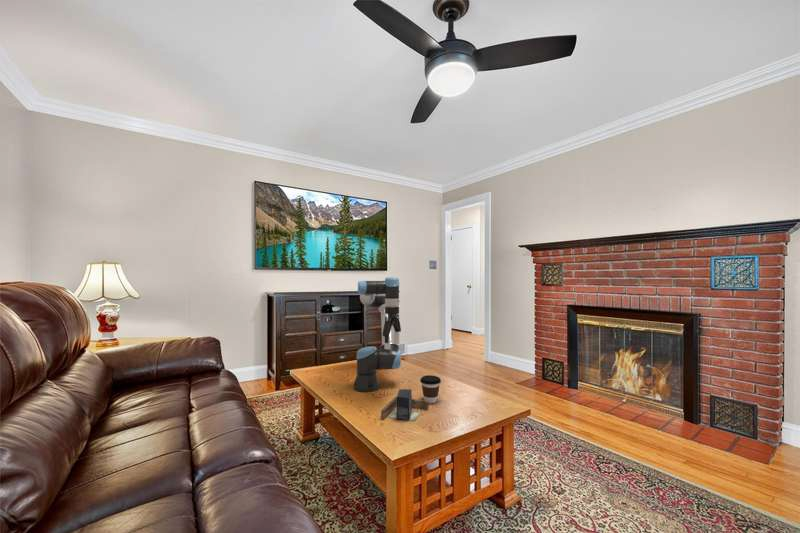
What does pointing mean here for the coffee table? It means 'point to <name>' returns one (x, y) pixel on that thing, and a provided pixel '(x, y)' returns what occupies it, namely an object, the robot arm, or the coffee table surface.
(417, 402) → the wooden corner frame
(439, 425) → the coffee table surface
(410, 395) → the small box
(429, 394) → the coffee cup
